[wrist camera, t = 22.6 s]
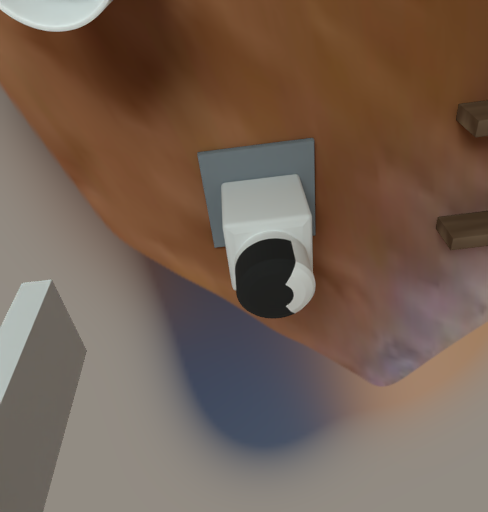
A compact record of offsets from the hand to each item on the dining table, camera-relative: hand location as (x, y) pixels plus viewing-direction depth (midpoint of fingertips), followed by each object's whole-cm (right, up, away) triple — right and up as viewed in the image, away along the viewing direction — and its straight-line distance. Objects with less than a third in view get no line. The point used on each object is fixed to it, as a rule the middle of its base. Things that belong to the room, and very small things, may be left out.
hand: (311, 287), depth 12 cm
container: (0, +6, +35) cm, 36 cm away
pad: (0, +7, +35) cm, 36 cm away
